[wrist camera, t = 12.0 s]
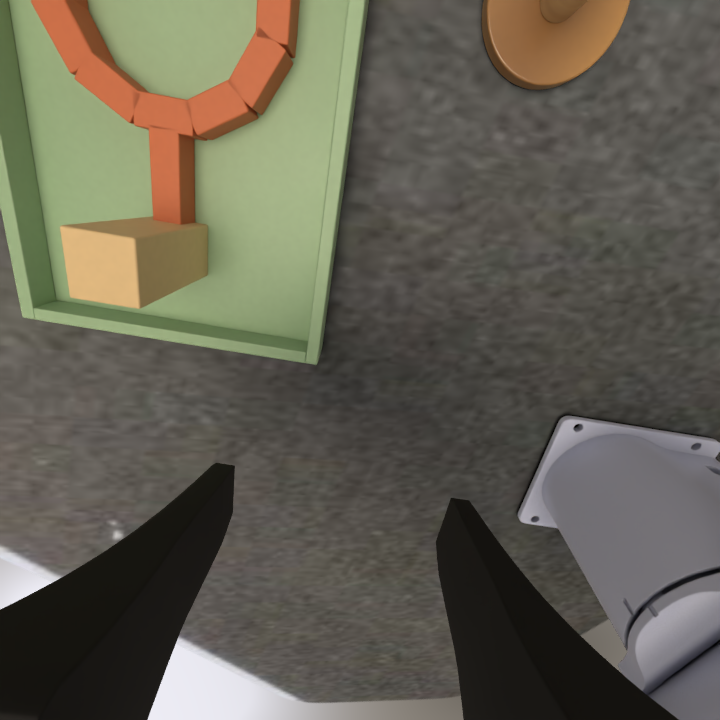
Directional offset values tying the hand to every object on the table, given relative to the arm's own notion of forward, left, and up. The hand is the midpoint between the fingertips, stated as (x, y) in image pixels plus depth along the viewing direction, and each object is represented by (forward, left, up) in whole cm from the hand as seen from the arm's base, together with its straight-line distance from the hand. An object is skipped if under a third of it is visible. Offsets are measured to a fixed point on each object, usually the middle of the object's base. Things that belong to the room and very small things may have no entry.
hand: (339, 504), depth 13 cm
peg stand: (-5, -17, -9) cm, 20 cm away
